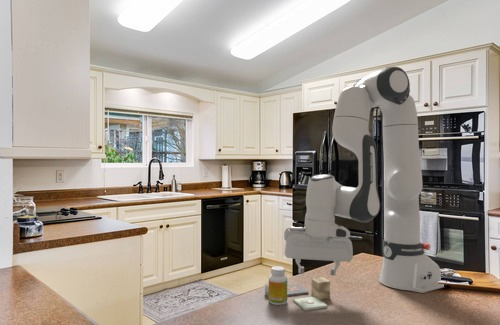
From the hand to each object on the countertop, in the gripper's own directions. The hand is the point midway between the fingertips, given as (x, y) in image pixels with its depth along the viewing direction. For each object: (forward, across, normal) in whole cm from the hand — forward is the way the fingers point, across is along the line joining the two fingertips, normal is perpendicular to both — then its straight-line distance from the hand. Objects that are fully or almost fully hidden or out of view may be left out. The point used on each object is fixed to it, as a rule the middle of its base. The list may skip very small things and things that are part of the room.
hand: (316, 274), depth 107 cm
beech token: (+7, +2, 0) cm, 7 cm away
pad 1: (+7, -6, +4) cm, 10 cm away
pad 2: (+7, -2, -6) cm, 10 cm away
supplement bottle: (+7, -12, -5) cm, 15 cm away
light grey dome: (+7, -13, +1) cm, 15 cm away
